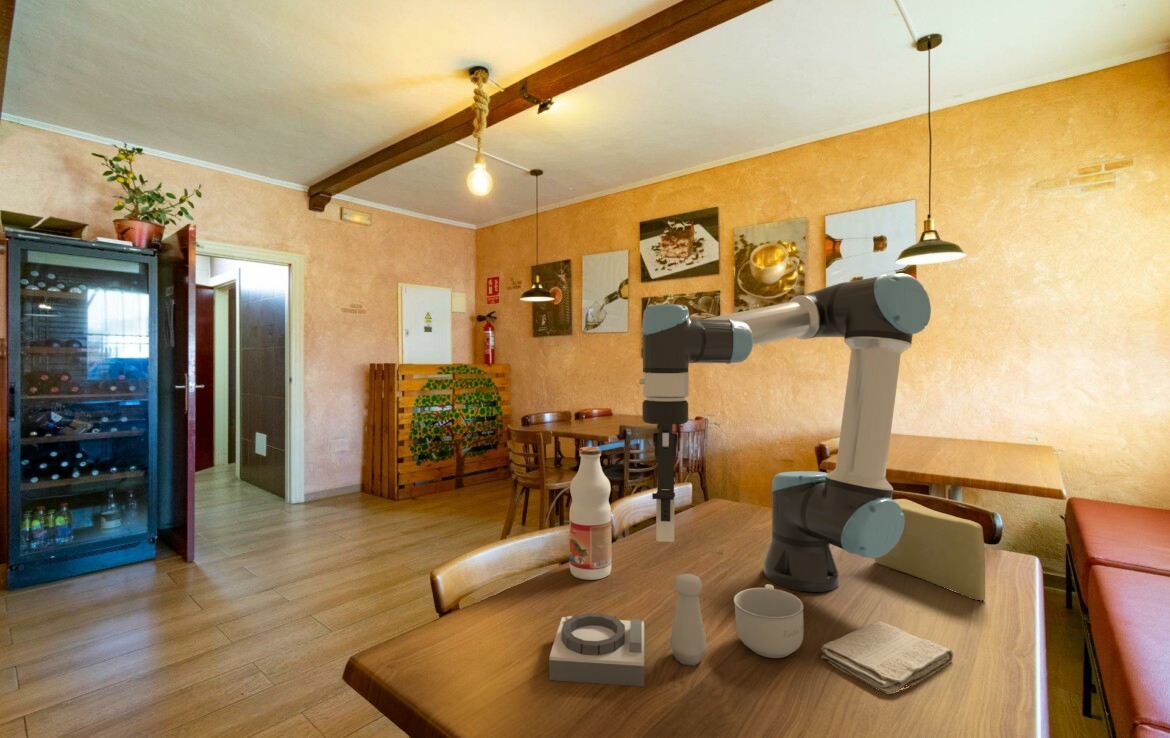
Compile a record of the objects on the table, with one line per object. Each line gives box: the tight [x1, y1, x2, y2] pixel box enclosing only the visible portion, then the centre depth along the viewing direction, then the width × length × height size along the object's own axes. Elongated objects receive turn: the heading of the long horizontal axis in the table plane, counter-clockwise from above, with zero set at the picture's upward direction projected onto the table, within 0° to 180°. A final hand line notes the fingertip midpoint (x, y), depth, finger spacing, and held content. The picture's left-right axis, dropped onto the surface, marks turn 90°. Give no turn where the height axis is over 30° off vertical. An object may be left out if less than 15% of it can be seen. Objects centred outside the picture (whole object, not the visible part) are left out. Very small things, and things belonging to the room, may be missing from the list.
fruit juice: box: [569, 446, 612, 581], centre depth 116 cm, size 9×9×28 cm
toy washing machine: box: [548, 612, 645, 687], centre depth 82 cm, size 14×12×5 cm
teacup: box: [733, 584, 804, 659], centre depth 86 cm, size 14×11×8 cm
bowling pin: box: [669, 573, 708, 667], centre depth 82 cm, size 6×6×13 cm
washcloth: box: [820, 621, 954, 695], centre depth 82 cm, size 12×18×3 cm, turn 122°
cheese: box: [874, 498, 986, 602], centre depth 112 cm, size 22×10×15 cm, turn 16°
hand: (665, 527), depth 85 cm, fingers open, 13 cm apart
